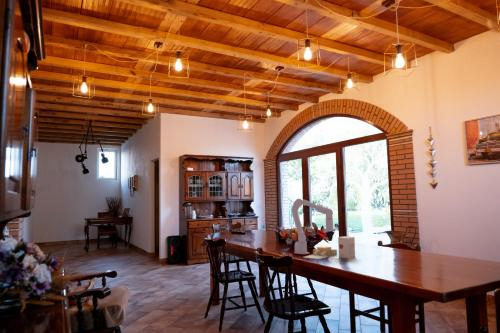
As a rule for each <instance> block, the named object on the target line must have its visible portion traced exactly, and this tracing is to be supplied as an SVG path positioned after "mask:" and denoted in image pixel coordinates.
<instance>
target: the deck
mask: <svg viewBox="0 0 500 333" xmlns="http://www.w3.org/2000/svg"><path fill="white" fill-rule="evenodd" d="M312 255H319V256H328V257H327V258H330V257H334V256H337V255H338V249H335V248H331V250H329V251H324V250H317V248H315V249H312Z"/></svg>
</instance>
